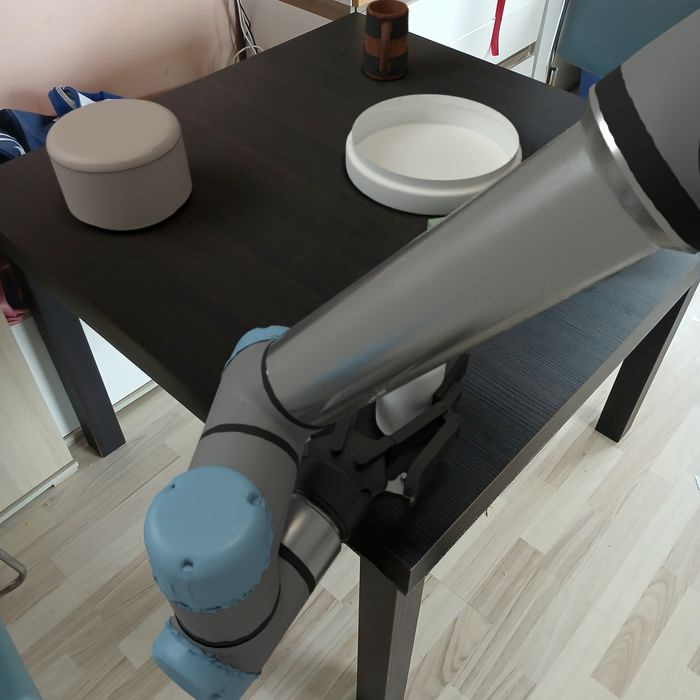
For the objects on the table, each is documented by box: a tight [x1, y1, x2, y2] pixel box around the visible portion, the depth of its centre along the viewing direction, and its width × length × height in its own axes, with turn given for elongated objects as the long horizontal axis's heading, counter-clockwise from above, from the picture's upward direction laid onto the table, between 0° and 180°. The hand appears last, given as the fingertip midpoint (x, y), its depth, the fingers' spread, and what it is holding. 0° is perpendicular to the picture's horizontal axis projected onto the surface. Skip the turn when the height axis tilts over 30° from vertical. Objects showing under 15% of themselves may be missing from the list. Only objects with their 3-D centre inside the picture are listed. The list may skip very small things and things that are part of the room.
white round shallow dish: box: [345, 93, 523, 216], centre depth 103 cm, size 27×27×6 cm
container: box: [45, 98, 193, 231], centre depth 94 cm, size 18×18×12 cm
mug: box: [362, 0, 410, 81], centre depth 122 cm, size 9×12×12 cm
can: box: [375, 363, 447, 436], centre depth 66 cm, size 6×6×12 cm
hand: (432, 348), depth 69 cm, fingers closed on can, 6 cm apart
